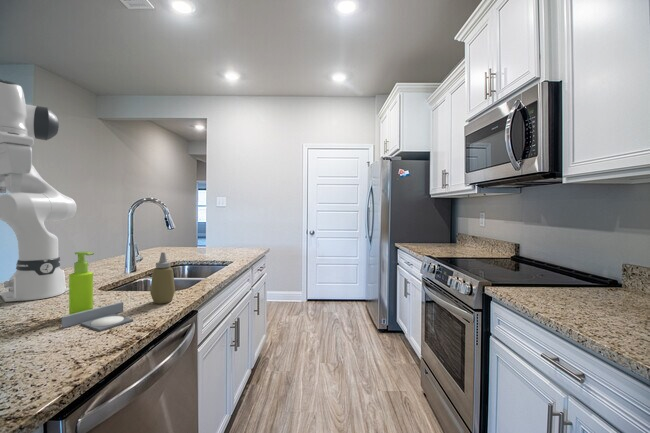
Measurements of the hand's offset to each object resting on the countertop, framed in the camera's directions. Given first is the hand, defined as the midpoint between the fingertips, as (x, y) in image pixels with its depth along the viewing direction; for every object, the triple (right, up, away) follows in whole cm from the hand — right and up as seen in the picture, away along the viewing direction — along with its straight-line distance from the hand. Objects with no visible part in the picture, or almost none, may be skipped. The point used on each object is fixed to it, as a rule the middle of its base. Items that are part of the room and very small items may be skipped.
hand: (7, 192), depth 82 cm
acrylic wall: (+15, -38, +11) cm, 42 cm away
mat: (+21, -38, +8) cm, 44 cm away
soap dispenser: (+9, -38, +14) cm, 41 cm away
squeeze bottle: (+26, -38, +29) cm, 54 cm away
